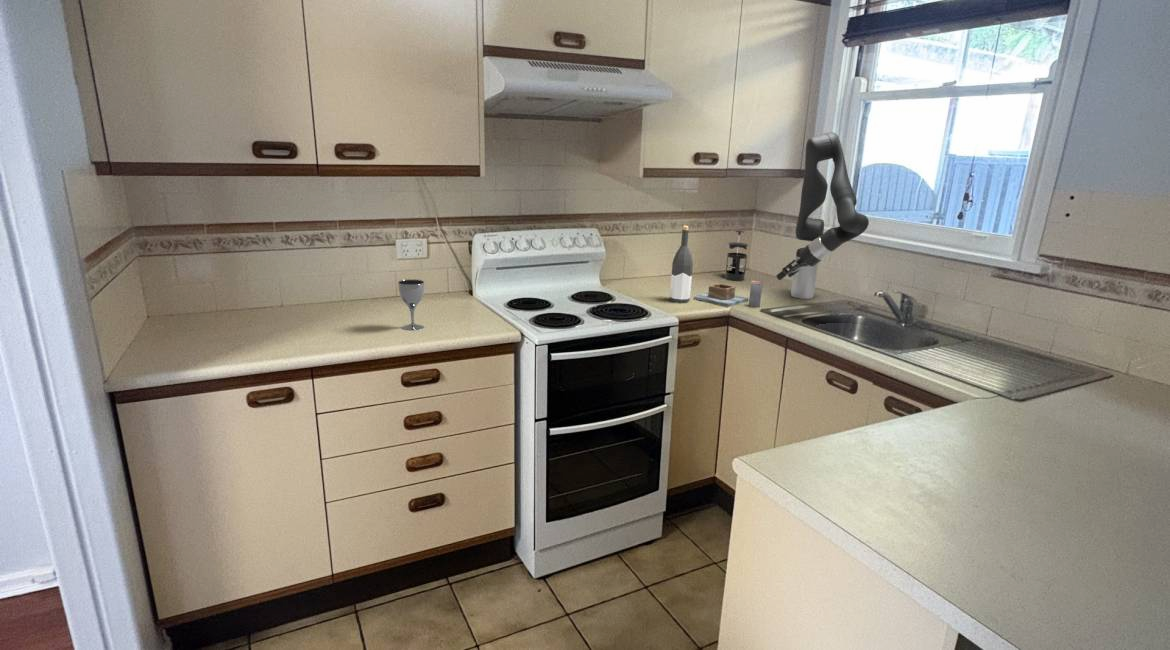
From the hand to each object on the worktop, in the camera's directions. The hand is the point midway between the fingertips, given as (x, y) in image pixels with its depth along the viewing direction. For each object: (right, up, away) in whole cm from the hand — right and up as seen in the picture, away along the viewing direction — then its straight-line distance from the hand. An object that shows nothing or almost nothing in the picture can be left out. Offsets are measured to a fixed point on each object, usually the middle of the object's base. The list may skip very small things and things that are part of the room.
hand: (783, 276), depth 239 cm
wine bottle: (-37, -9, +14) cm, 41 cm away
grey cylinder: (-8, -11, +11) cm, 17 cm away
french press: (-4, +3, +61) cm, 61 cm away
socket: (-20, -8, +18) cm, 28 cm away
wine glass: (-131, -19, -35) cm, 137 cm away
